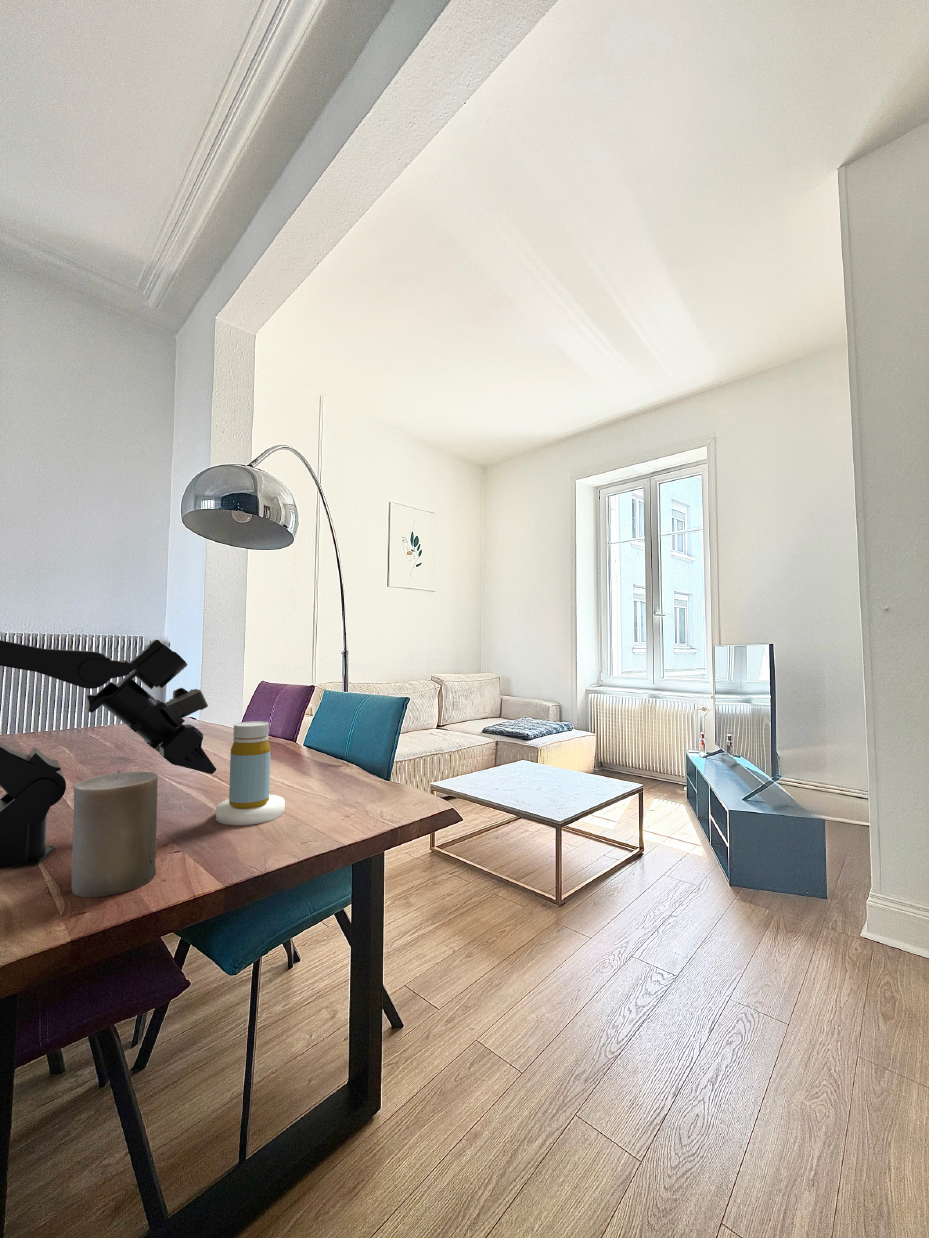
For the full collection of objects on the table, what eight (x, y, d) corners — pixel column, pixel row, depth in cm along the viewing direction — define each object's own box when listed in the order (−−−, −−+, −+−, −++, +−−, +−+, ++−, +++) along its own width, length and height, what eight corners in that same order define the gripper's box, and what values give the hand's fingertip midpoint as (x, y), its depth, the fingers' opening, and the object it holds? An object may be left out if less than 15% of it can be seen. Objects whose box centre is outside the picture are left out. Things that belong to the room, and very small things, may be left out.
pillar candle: (172, 870, 75) (175, 764, 76) (109, 903, 65) (113, 780, 66) (118, 863, 77) (121, 760, 78) (50, 893, 68) (54, 775, 69)
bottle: (277, 801, 101) (279, 722, 101) (246, 812, 94) (248, 727, 95) (251, 796, 104) (254, 719, 104) (220, 806, 98) (223, 724, 98)
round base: (284, 821, 96) (284, 810, 96) (211, 828, 92) (212, 816, 92) (284, 802, 107) (284, 792, 107) (219, 807, 103) (219, 797, 103)
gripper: (190, 677, 85) (258, 739, 91) (166, 671, 99) (226, 725, 106) (131, 731, 79) (207, 793, 86) (114, 717, 94) (181, 770, 100)
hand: (207, 766), depth 95 cm, fingers open, 9 cm apart
